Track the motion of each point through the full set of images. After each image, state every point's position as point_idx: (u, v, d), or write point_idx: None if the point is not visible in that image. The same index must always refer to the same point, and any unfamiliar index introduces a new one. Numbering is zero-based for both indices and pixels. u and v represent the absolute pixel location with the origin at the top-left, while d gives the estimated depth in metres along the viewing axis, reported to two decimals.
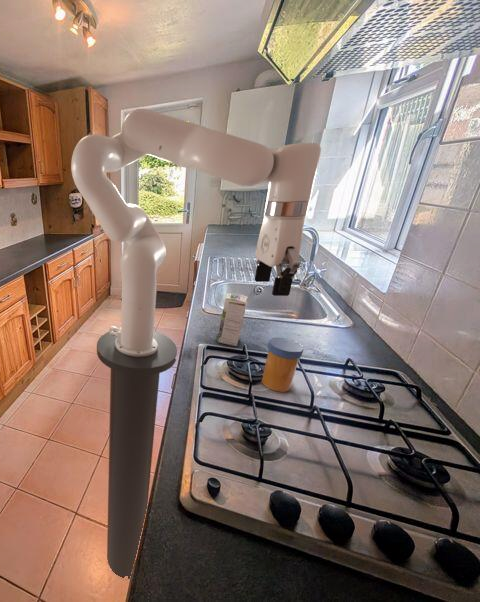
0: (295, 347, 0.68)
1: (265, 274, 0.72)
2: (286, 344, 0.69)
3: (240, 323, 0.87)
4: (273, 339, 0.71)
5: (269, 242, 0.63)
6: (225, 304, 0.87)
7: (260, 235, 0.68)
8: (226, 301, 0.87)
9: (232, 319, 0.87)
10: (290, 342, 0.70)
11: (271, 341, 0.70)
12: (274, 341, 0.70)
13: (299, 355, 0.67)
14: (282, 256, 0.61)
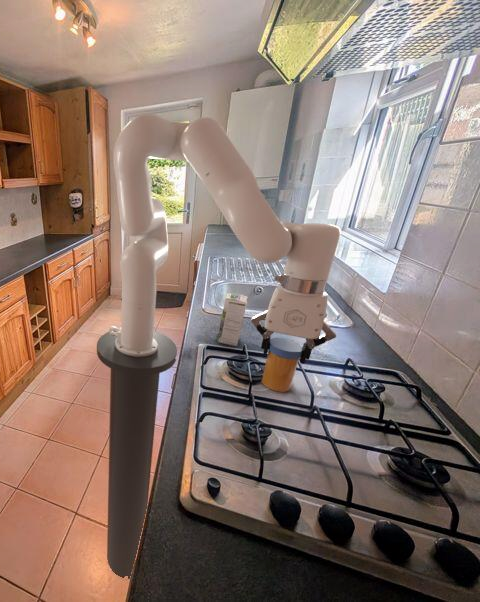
0: (295, 347, 0.68)
1: None
2: (286, 344, 0.69)
3: (240, 323, 0.87)
4: (273, 339, 0.71)
5: (306, 317, 0.63)
6: (225, 304, 0.87)
7: (277, 309, 0.65)
8: (226, 301, 0.87)
9: (232, 319, 0.87)
10: (290, 342, 0.70)
11: (271, 341, 0.70)
12: (274, 341, 0.70)
13: (299, 355, 0.67)
14: (321, 327, 0.63)
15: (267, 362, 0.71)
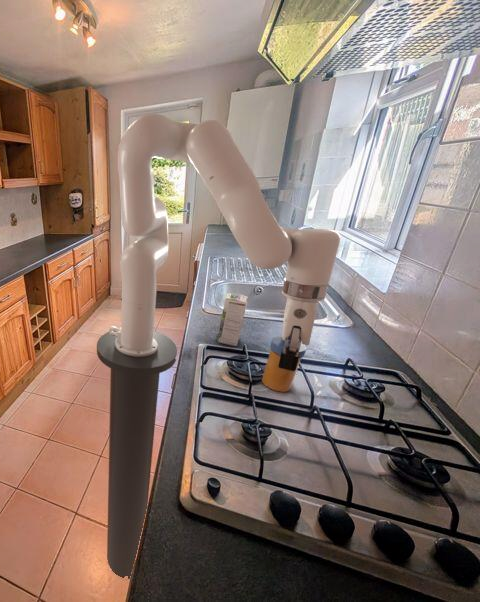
0: None
1: None
2: (288, 343, 0.69)
3: (240, 323, 0.87)
4: (281, 346, 0.67)
5: None
6: (225, 304, 0.87)
7: None
8: (226, 301, 0.87)
9: (232, 319, 0.87)
10: (281, 340, 0.70)
11: None
12: None
13: None
14: None
15: (268, 362, 0.71)
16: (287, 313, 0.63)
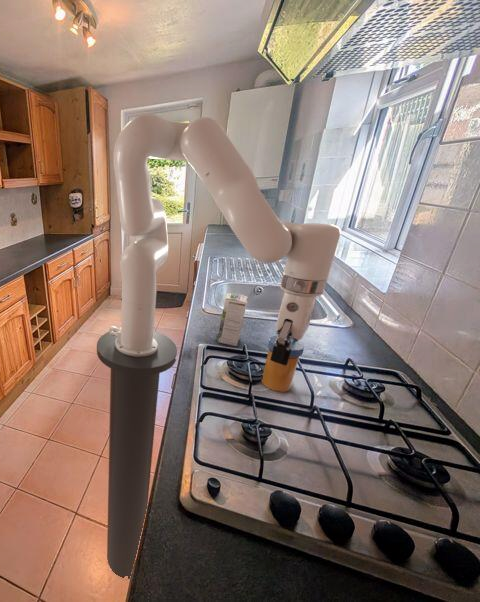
0: None
1: None
2: None
3: (240, 323, 0.87)
4: (298, 349, 0.66)
5: None
6: (225, 304, 0.87)
7: (307, 316, 0.62)
8: (226, 301, 0.87)
9: (232, 319, 0.87)
10: None
11: (301, 347, 0.67)
12: (297, 346, 0.67)
13: None
14: None
15: (267, 362, 0.71)
16: (281, 306, 0.64)
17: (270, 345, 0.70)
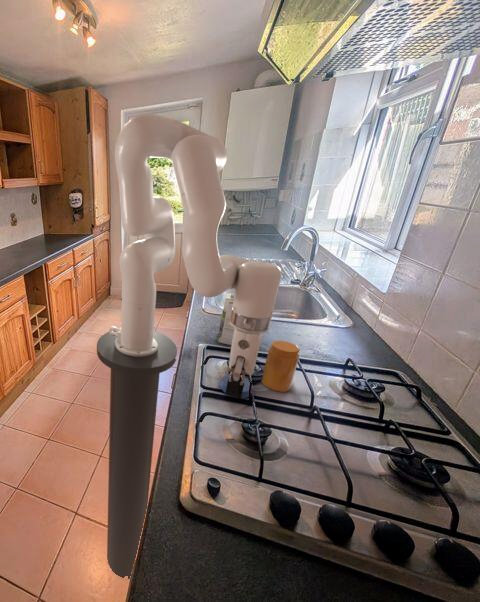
0: None
1: None
2: None
3: None
4: (248, 389, 0.69)
5: None
6: (225, 304, 0.87)
7: (257, 352, 0.63)
8: (226, 301, 0.87)
9: None
10: None
11: None
12: (247, 386, 0.70)
13: None
14: None
15: (267, 362, 0.71)
16: (232, 343, 0.65)
17: (223, 386, 0.71)
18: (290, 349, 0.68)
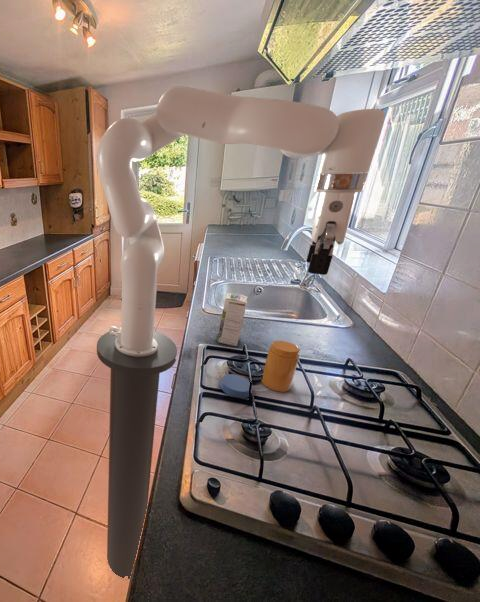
0: (229, 378, 0.72)
1: None
2: (236, 382, 0.71)
3: (240, 323, 0.87)
4: (248, 389, 0.69)
5: None
6: (225, 304, 0.87)
7: None
8: (226, 301, 0.87)
9: (232, 319, 0.87)
10: (231, 384, 0.70)
11: None
12: (247, 386, 0.70)
13: None
14: None
15: (267, 362, 0.71)
16: (321, 209, 0.59)
17: (223, 386, 0.71)
18: (290, 349, 0.68)
